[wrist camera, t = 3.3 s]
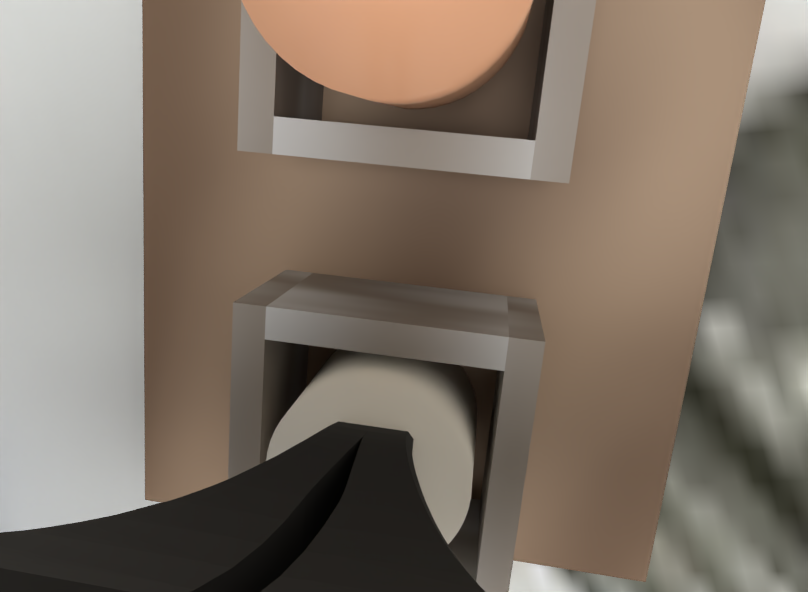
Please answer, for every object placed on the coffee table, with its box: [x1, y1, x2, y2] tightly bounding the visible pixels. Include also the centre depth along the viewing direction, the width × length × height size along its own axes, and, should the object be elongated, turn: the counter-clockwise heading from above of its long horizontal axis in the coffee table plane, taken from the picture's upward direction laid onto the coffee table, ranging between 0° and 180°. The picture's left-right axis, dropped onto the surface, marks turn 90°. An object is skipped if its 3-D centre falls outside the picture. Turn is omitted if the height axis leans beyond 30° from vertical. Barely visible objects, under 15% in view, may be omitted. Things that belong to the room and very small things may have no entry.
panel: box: [142, 0, 765, 592], centre depth 13 cm, size 12×15×4 cm
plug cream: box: [266, 349, 478, 544], centre depth 13 cm, size 4×4×3 cm
